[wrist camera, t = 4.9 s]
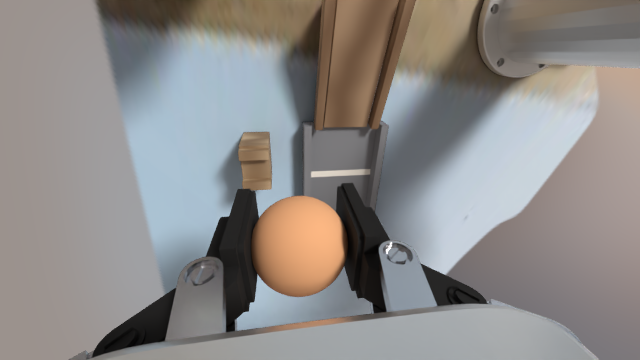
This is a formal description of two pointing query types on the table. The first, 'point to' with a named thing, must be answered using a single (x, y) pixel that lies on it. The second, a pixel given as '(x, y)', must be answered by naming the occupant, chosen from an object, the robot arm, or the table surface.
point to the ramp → (358, 59)
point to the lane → (343, 161)
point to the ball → (299, 246)
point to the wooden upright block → (256, 160)
